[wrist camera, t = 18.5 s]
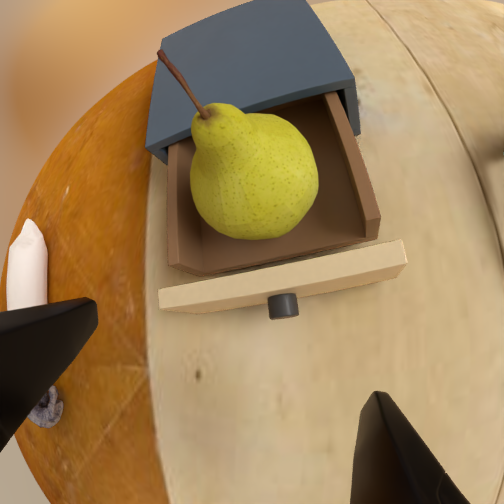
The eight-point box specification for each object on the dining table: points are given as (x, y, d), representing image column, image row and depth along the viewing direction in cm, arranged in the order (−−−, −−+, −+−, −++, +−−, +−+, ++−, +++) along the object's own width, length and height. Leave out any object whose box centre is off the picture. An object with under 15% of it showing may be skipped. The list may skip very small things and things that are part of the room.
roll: (60, 218, 31) (25, 203, 26) (56, 314, 27) (16, 307, 22) (38, 232, 33) (7, 220, 28) (34, 319, 29) (-1, 313, 24)
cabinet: (361, 134, 20) (354, 77, 14) (188, 183, 24) (144, 148, 19) (311, 31, 25) (296, -12, 19) (189, 73, 29) (162, 38, 23)
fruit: (342, 231, 17) (300, 78, 6) (238, 270, 19) (83, 196, 8) (304, 143, 19) (236, -7, 8) (215, 181, 21) (99, 73, 10)
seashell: (76, 400, 25) (40, 390, 29) (42, 373, 22) (12, 366, 26) (60, 439, 21) (25, 421, 24) (22, 413, 18) (-5, 397, 22)
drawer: (400, 297, 16) (413, 288, 12) (197, 331, 20) (159, 330, 16) (339, 97, 20) (331, 58, 16) (188, 144, 24) (161, 117, 20)
